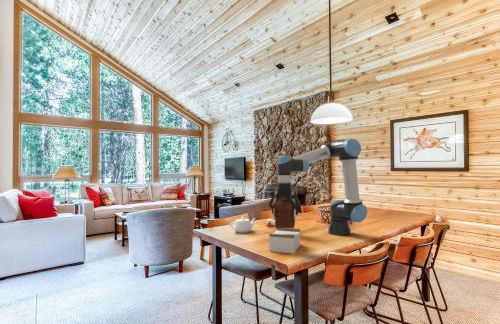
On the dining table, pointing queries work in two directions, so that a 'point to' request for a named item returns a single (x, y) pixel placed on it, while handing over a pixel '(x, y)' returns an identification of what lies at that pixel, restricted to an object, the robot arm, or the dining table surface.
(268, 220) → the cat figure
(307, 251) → the dining table surface
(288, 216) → the wooden figurine
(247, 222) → the teapot
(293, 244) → the display plinth
